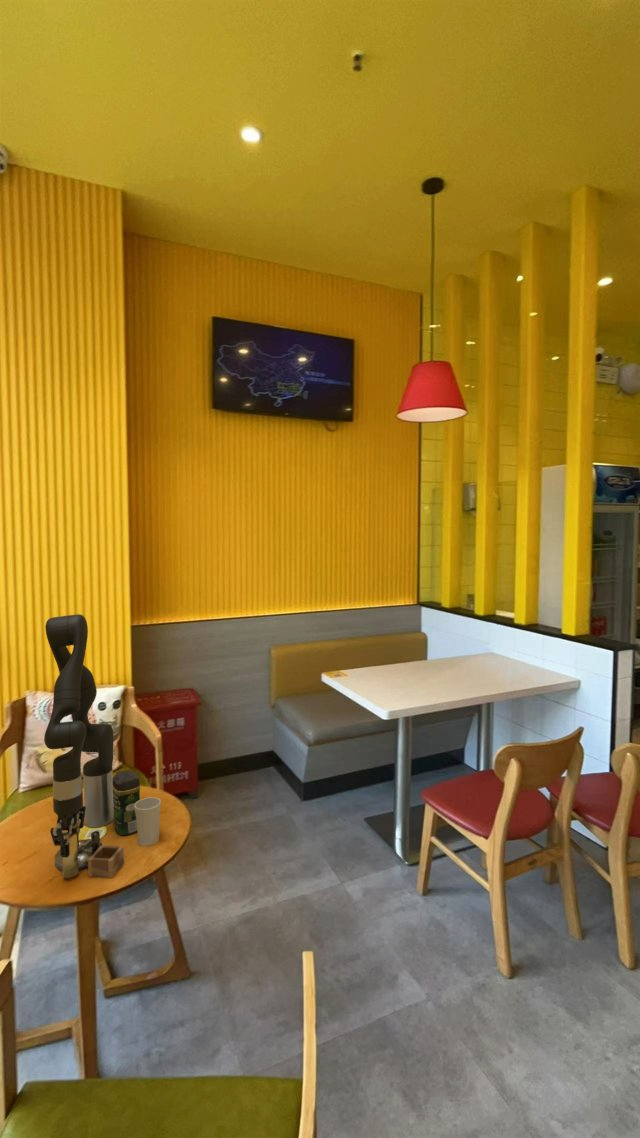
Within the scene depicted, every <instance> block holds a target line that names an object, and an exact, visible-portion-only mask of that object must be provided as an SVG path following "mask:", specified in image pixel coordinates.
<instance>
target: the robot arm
mask: <svg viewBox="0 0 640 1138" xmlns="http://www.w3.org/2000/svg"><path fill="white" fill-rule="evenodd" d="M88 629H89V627H88V622H87V619H86V617H85V616H84V615H82V614H71V615H70V614H68V615H61V616H54V617H50V618H48V619H47V620H46V622H45V635H46V639H47V642H48V644H49V647H50V650H51V653H52V655H53V658H54V660H55V663H56V666H57V668H58V672H59V675H58V676H57V678H56V680H55V683H54V686H53V696H52V697H53V698H52V699H53V700H52V701H53V703H52V712H51V716H50V719H49V722H48V725H47V726H46V730H45V732H44V737H43V739H44V741H43V742H44V745H45V747H46V748H48V749H49V750H60V749H68V748H69V749H70V748H72V749H71V750H70V751H68V752H66V753H63V754H60V755H58V756H56V757H55V758H54V759H53V761H52V776H53V777H52V778H53V782H52V804H53V807H52V808H53V810H52V811H53V812H54V814H56V816H57V820H56V826H55V827H52V828H50V830H49V831H50V832H49V833H50V835H51V838H52V842H53V845H54V846H55V847H59V850H60V854H61V857H66V858H67V857H68V856H69V855H70V851H69V837H70V835H71V834H72V832H76V833H77V842H78V846H79V840H80V838H79V836H80V835H79V834H80V833H81V829H83V828H84V825H85V826H86V827H89V828H100V827H104V826H106V825H109V824H110V823H112V822H114V805H113V777H114V776H113V763H114V762H113V761H114V740H115V739H114V737H115V736H114V728H113V726H112V725H111V724H110V723H91V722H90V721H89V715H88V714H89V712H90V709H91V708H92V707H93V704H94V702H95V700H96V697H97V693H98V691H97V690H98V689H97V685H96V682H95V678H94V675H93V672H91V670H90V669H89V668H88V667H87V666H85V658H86V657H85V656H86V650H87V642H88V636H89V630H88ZM69 646H73V648H72V652H70V651H69V648H68V647H69ZM67 716H71V719H72V720H71V721H64V722H61V721H62V720H63V719H64V718H65V717H67ZM82 753H97V754H98V755H97V757H95V758H93V759H89V760H88V761H86V762H85V763H84V764H83V766H81V765H82V764H81V760H82V759H81V758H82ZM81 767H82V769H81ZM82 777H83V778H82ZM63 836H66V838H65V840H64V837H63Z"/></svg>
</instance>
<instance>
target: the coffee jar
mask: <svg viewBox="0 0 640 1138" xmlns="http://www.w3.org/2000/svg"><path fill="white" fill-rule="evenodd" d="M140 789H141V782H140V777H139V775H138V774H137V773H136V772H135V771H133V770H130V769H125V770H121V771H118V772H116V773H115V774H114V776H113V805H114V819H113V826H114V830H115V831H116V832H117V834H118V835H120V836H127V835H128V836H129V835H131V834H134V833H136V832H138V831H137V822H136V815H135V807H134V805H135V803H136V802H137V801H139V800H141V798H140V797H141V791H140Z"/></svg>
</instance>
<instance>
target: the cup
mask: <svg viewBox="0 0 640 1138" xmlns="http://www.w3.org/2000/svg"><path fill="white" fill-rule="evenodd" d="M161 802H162V800H161V799H160V798H158V797H154V796H153V797H151V796H150V797H145V798H142V799H141V798H140V800H139V801H137V802H136V803H135V805H134V807H135V815H136V822H137V831H136V832H137V837H138V838H137V842H138V844H139V845H141V846H143V847H148V846H152V845H155V844H156V843H158V842H159V840H160V826H161V825H160V821H161V806H162V803H161Z"/></svg>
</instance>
